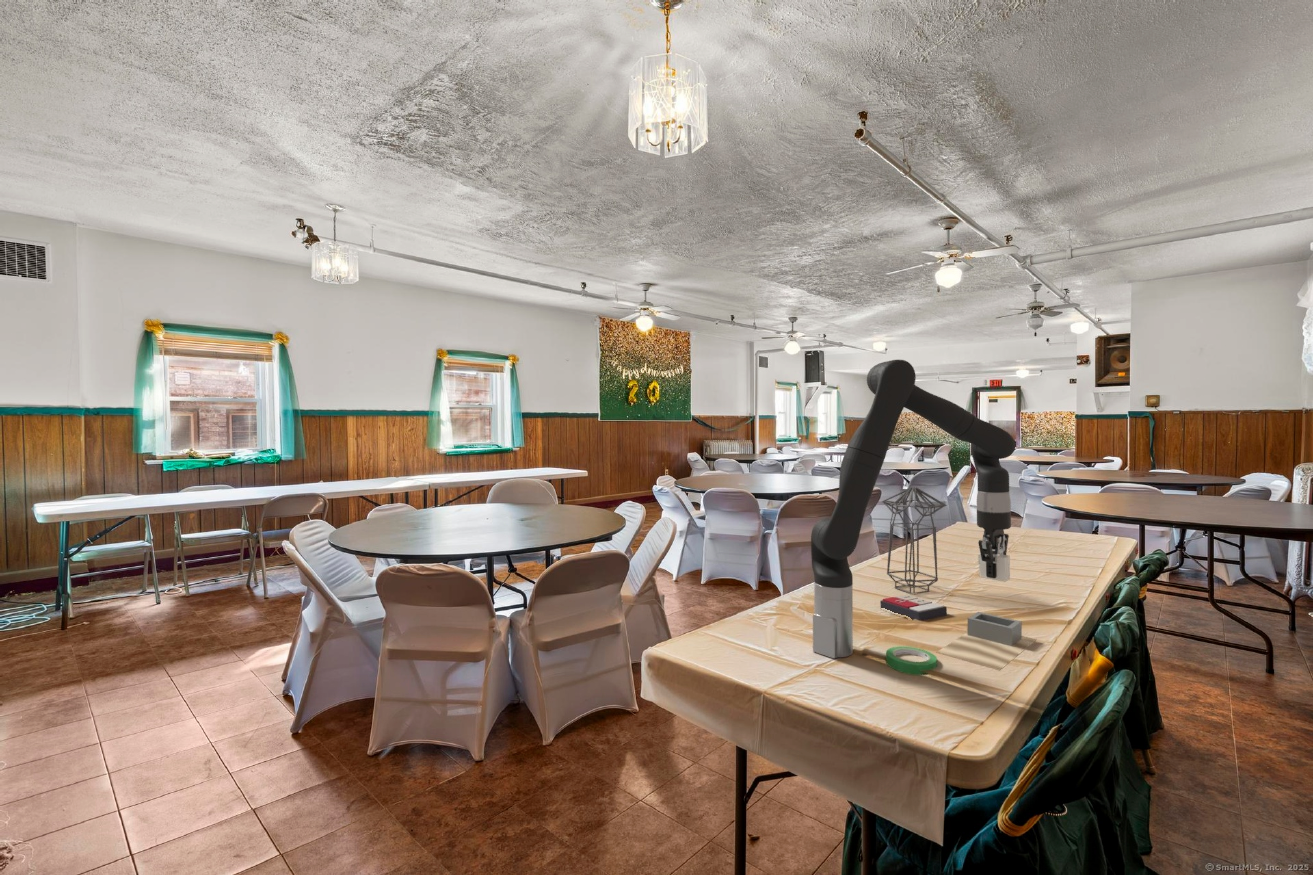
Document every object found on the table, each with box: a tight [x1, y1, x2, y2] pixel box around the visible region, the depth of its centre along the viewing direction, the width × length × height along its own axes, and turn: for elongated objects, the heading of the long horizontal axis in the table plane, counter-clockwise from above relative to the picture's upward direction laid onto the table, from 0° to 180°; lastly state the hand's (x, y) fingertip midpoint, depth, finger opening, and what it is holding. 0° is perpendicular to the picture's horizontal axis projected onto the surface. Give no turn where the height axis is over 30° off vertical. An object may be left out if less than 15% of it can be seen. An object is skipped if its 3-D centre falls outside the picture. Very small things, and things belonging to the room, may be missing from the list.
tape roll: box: [885, 646, 938, 676], centre depth 137 cm, size 11×11×3 cm
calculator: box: [879, 594, 948, 622], centre depth 173 cm, size 11×4×15 cm
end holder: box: [966, 611, 1023, 646], centre depth 151 cm, size 7×10×4 cm
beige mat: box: [935, 632, 1037, 672], centre depth 145 cm, size 27×14×1 cm, turn 131°
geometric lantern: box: [881, 486, 947, 594], centre depth 196 cm, size 16×16×35 cm
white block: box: [978, 553, 1011, 583], centre depth 148 cm, size 3×6×6 cm, turn 40°
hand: (994, 575), depth 148 cm, fingers closed on white block, 3 cm apart
